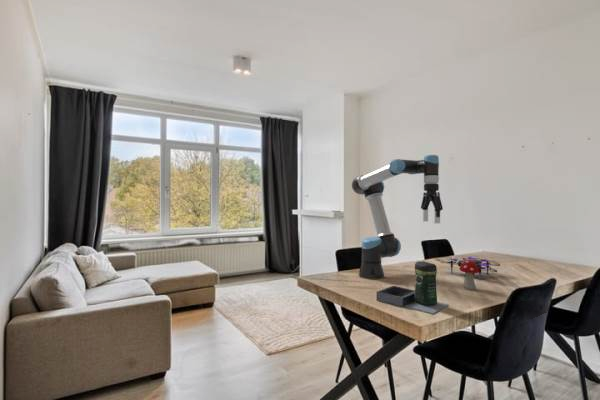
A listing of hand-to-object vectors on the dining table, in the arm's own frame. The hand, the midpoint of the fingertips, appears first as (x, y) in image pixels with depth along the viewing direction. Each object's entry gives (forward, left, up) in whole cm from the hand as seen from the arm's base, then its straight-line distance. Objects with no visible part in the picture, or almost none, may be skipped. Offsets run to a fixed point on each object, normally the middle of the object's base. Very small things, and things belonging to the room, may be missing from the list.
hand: (431, 222), depth 180 cm
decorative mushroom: (+17, +8, -35) cm, 40 cm away
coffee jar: (+12, -33, -34) cm, 49 cm away
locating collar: (0, -36, -35) cm, 50 cm away
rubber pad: (+14, -35, -35) cm, 51 cm away
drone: (+8, +43, -35) cm, 56 cm away
